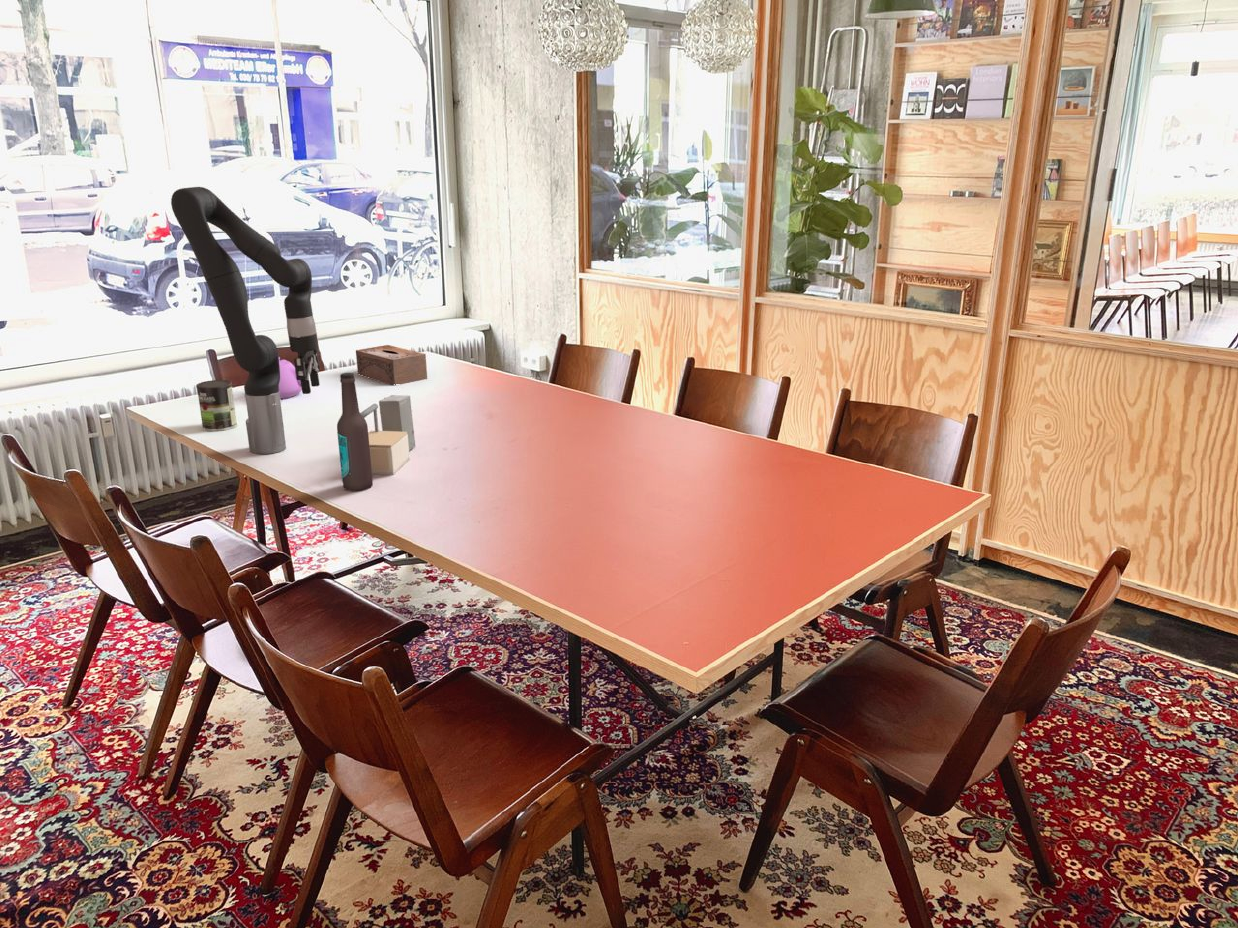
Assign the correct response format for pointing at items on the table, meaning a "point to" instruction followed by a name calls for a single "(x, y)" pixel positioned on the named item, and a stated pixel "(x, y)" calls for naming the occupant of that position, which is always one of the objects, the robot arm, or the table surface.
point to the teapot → (288, 380)
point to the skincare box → (398, 416)
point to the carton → (390, 457)
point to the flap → (378, 436)
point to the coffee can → (216, 405)
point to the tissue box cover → (391, 364)
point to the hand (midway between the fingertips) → (311, 389)
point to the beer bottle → (353, 440)
